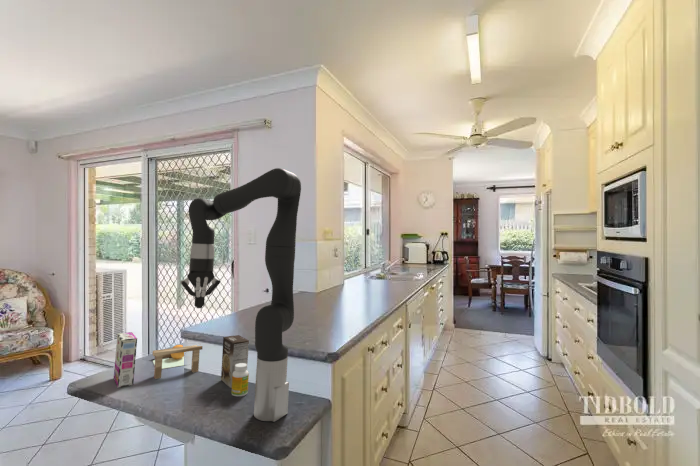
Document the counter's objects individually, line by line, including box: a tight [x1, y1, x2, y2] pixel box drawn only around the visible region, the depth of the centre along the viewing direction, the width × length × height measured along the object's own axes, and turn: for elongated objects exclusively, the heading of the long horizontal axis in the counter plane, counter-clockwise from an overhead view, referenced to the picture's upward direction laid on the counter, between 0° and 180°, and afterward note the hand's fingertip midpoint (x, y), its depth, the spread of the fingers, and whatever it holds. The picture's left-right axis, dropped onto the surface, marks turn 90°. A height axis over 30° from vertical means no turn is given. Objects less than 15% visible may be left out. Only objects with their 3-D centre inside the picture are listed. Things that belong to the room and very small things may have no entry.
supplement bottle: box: [230, 363, 250, 397], centre depth 115 cm, size 5×5×10 cm
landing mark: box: [152, 355, 185, 370], centre depth 140 cm, size 12×12×1 cm
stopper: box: [154, 354, 172, 360], centre depth 147 cm, size 2×10×2 cm, turn 127°
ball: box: [171, 344, 185, 359], centre depth 146 cm, size 6×6×6 cm
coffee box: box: [220, 334, 250, 389], centre depth 124 cm, size 9×6×16 cm
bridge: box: [152, 344, 203, 380], centre depth 129 cm, size 3×17×10 cm, turn 127°
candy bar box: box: [113, 332, 138, 389], centre depth 121 cm, size 11×5×16 cm, turn 42°
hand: (199, 307), depth 114 cm, fingers closed
